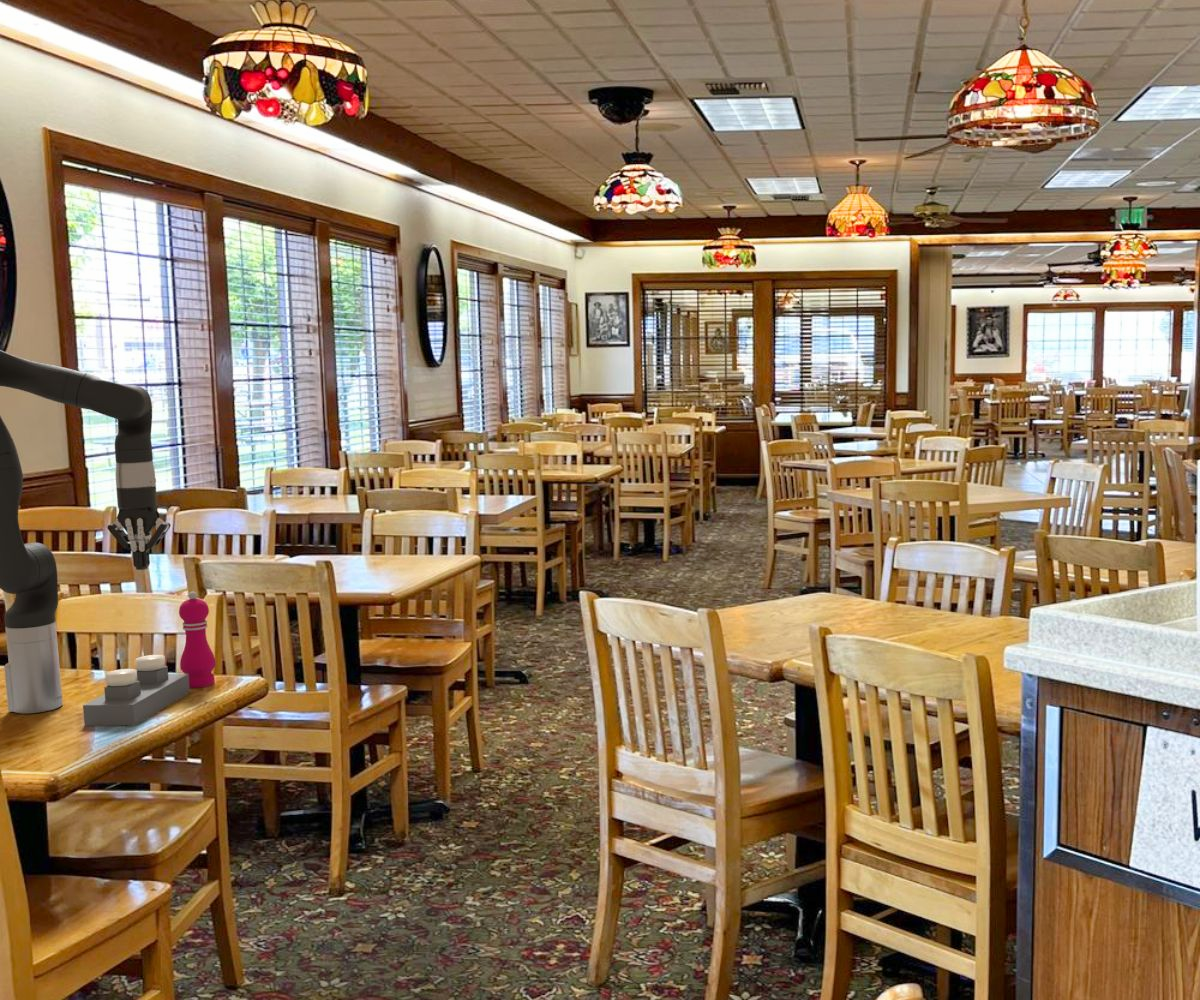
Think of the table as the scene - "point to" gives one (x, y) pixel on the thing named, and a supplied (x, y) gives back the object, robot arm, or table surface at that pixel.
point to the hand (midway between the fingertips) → (142, 569)
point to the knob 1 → (121, 677)
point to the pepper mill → (196, 643)
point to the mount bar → (136, 699)
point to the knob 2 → (150, 662)
